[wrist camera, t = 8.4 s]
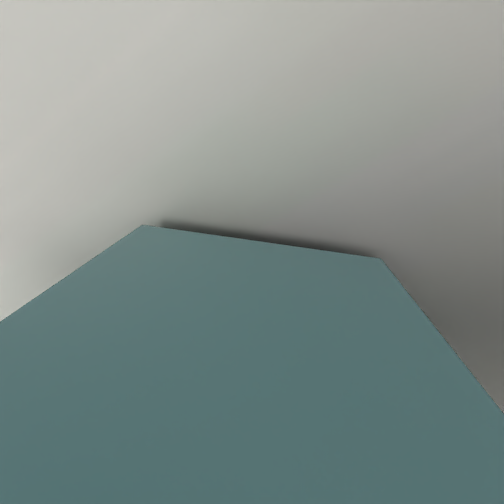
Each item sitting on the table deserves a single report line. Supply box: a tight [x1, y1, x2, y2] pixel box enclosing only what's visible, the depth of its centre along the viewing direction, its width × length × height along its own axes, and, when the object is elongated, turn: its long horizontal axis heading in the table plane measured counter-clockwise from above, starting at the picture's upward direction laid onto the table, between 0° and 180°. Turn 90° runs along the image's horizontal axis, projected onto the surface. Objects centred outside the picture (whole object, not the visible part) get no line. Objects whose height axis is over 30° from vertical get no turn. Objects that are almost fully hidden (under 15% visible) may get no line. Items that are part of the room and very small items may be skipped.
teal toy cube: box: [0, 225, 504, 504], centre depth 8 cm, size 8×8×9 cm
